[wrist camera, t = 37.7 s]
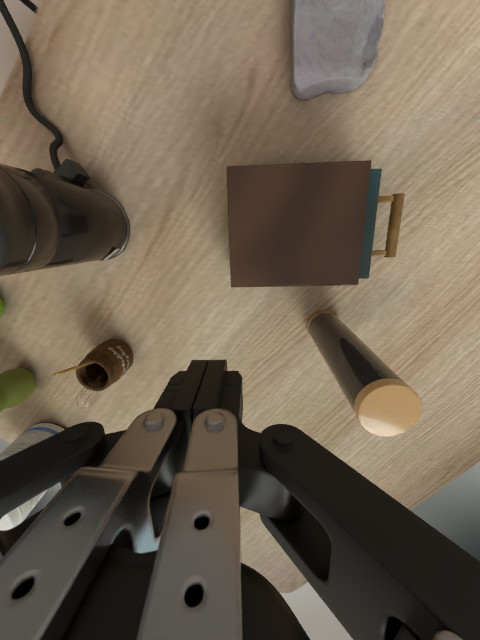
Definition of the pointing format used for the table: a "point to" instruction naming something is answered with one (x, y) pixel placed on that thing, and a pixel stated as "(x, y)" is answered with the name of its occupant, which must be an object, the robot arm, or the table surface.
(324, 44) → the stone block
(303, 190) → the cabinet
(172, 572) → the robot arm
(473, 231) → the table surface
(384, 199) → the drawer
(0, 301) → the snail figurine
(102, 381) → the utensil holder
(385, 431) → the black cylinder
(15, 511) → the supplement tub
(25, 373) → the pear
